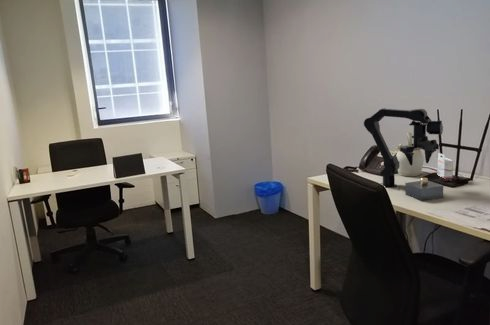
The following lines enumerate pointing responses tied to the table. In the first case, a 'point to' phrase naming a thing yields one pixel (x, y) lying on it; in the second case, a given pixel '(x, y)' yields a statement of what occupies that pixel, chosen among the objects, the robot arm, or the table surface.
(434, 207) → the table surface
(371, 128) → the robot arm
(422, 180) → the plunger
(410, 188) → the block
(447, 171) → the ink cartridge box
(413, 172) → the jug
